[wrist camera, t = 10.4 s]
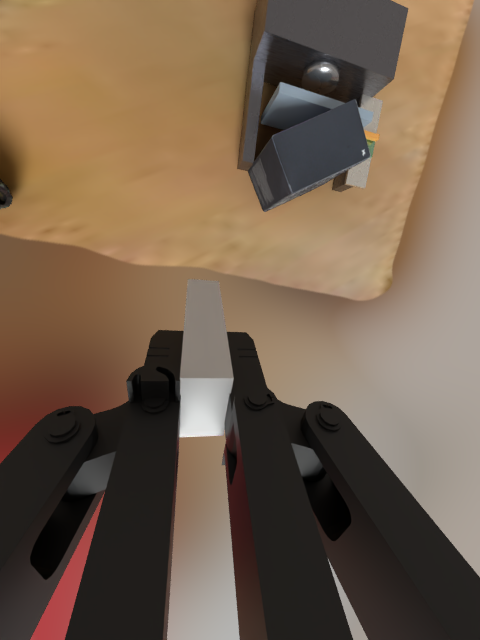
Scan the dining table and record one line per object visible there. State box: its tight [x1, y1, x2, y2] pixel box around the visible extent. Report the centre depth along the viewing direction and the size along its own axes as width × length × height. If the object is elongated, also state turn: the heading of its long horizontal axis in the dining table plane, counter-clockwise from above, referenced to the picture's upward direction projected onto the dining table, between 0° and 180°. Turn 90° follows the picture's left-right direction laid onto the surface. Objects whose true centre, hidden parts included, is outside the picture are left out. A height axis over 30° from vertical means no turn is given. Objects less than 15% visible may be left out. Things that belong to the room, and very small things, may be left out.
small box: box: [248, 99, 371, 212], centre depth 32 cm, size 11×6×10 cm, turn 115°
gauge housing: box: [237, 0, 408, 192], centre depth 33 cm, size 18×18×7 cm
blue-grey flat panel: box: [261, 82, 380, 142], centre depth 33 cm, size 1×16×7 cm, turn 82°
